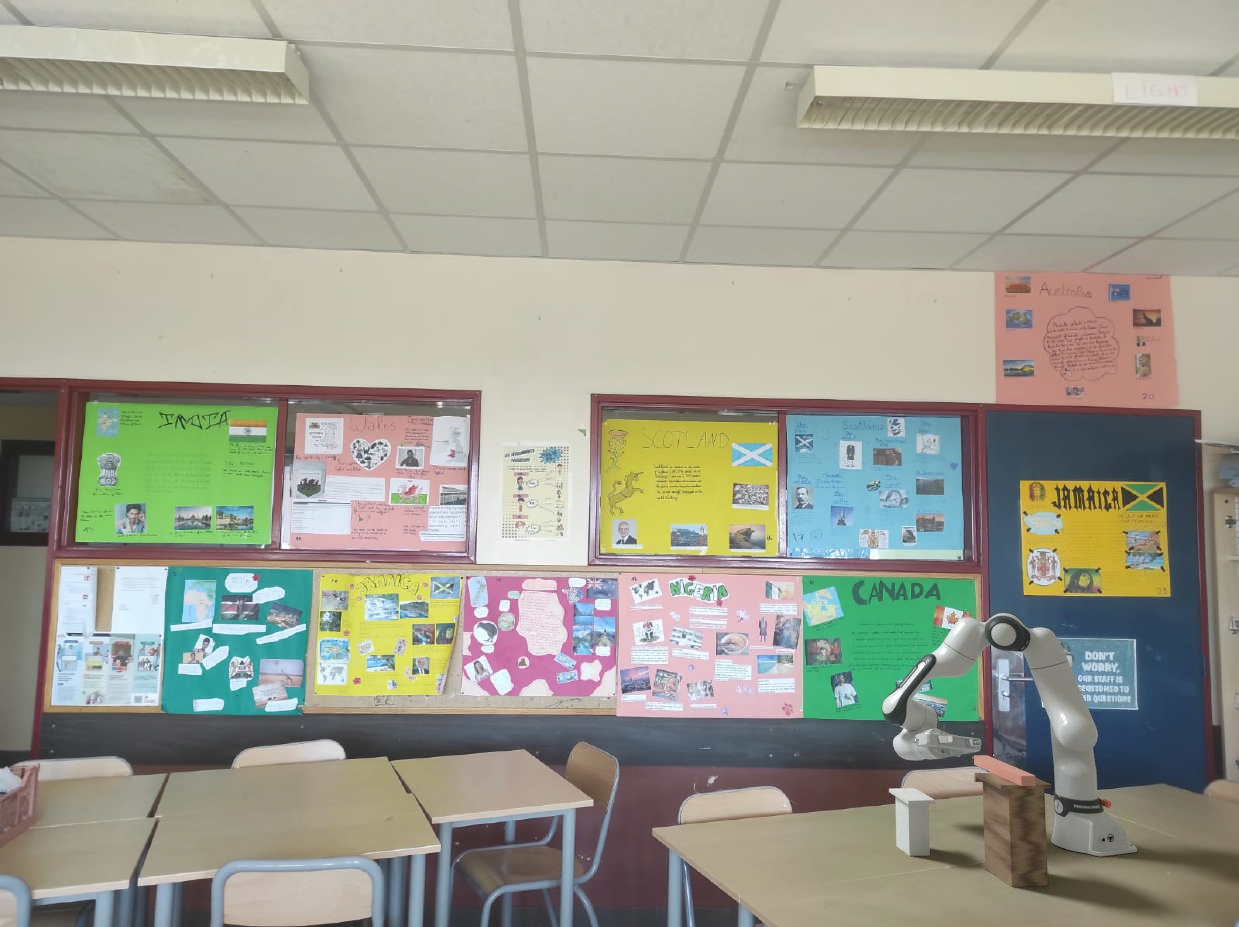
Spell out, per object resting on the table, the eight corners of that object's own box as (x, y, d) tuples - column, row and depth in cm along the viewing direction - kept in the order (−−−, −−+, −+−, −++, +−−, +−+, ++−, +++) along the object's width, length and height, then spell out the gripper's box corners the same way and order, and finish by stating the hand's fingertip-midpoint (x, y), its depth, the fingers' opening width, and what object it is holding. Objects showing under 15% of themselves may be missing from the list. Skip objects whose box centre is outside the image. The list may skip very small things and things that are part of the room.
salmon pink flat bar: (987, 764, 233) (987, 755, 233) (1035, 785, 212) (1035, 775, 212) (974, 764, 233) (973, 755, 233) (1021, 786, 211) (1021, 776, 211)
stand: (915, 843, 240) (914, 788, 242) (936, 857, 228) (935, 800, 230) (890, 843, 239) (888, 788, 241) (909, 858, 227) (908, 800, 229)
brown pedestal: (1025, 867, 223) (1021, 771, 226) (1055, 885, 210) (1051, 784, 213) (977, 868, 221) (974, 772, 224) (1004, 887, 209) (1001, 785, 211)
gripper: (906, 729, 252) (937, 725, 240) (959, 736, 259) (992, 732, 247) (907, 751, 250) (939, 748, 238) (961, 757, 256) (995, 754, 244)
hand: (966, 740), depth 242 cm, fingers open, 8 cm apart
